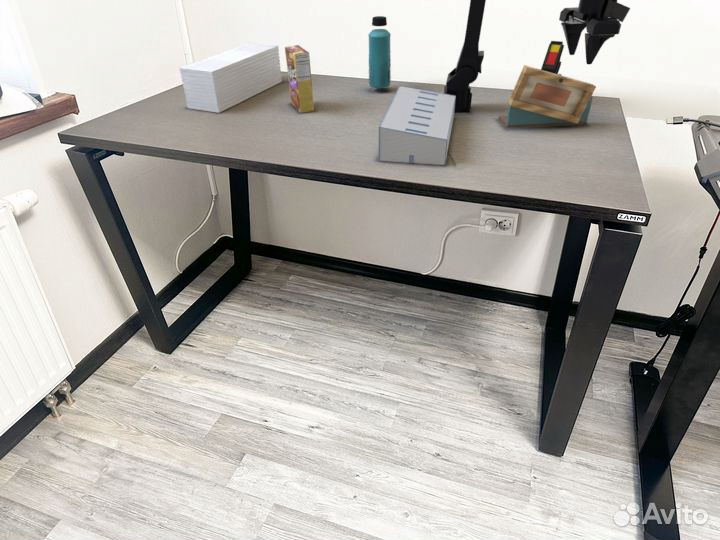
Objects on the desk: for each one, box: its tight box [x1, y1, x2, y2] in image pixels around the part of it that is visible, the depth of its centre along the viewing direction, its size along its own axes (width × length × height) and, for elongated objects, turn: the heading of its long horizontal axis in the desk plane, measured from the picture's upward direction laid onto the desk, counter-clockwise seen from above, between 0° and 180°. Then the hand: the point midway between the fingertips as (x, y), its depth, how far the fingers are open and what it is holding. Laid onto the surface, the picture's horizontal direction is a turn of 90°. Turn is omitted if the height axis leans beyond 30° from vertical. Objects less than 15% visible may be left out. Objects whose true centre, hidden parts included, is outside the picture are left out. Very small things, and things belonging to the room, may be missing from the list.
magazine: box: [540, 40, 565, 74], centre depth 141 cm, size 4×13×15 cm, turn 155°
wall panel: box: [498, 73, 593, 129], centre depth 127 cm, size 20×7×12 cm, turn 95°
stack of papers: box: [179, 42, 283, 114], centre depth 151 cm, size 32×11×11 cm, turn 155°
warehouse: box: [378, 85, 456, 166], centre depth 121 cm, size 30×14×8 cm, turn 168°
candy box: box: [284, 44, 315, 114], centre depth 139 cm, size 9×4×15 cm, turn 23°
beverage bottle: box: [367, 15, 392, 89], centre depth 149 cm, size 6×7×20 cm
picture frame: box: [507, 64, 597, 124], centre depth 121 cm, size 18×2×9 cm, turn 95°
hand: (580, 59), depth 126 cm, fingers open, 9 cm apart
